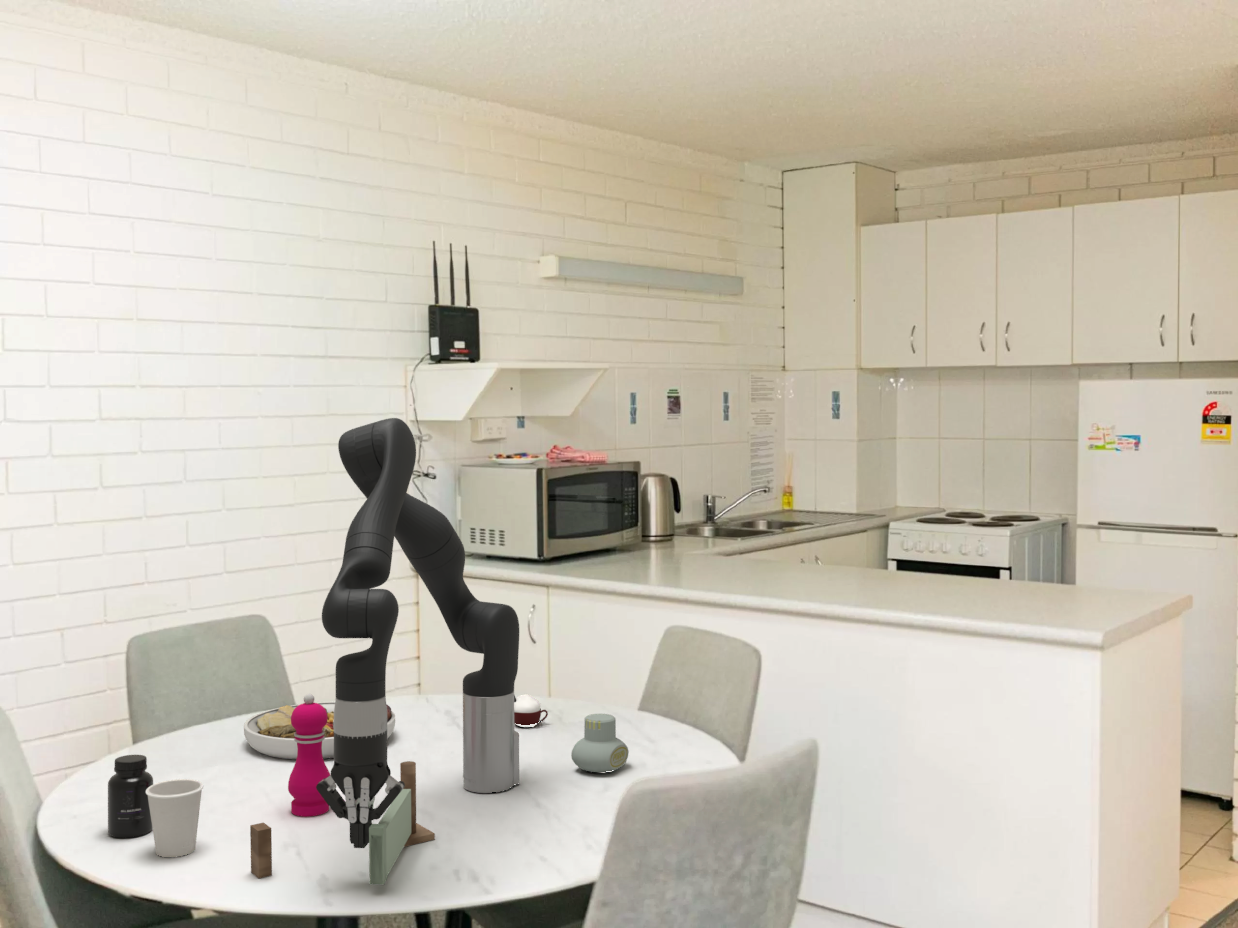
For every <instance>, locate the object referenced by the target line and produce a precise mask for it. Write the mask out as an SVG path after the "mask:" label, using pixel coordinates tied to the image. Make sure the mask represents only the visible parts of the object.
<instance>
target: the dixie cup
mask: <svg viewBox="0 0 1238 928" xmlns="http://www.w3.org/2000/svg"><path fill="white" fill-rule="evenodd" d="M203 789H204V783H202V782H201V781H200V780H197V779H192V778H191V779H190V778H189V779H187V778H181V779H180V778H179V779H177V778H176V779H169V780H164V781H159V782H156V783H153V785H151V786H150V787H148V788H147V789H146V794H147V795H148V801H149V808H150V815H151V821H152V832H153V833H152V834H153V840H154V846H155V847H154V848H155V853H156V855H157V856H158V855H159V856H158V857H160V856H162V857H161V858H164V857H175V858H177V857H176V856H181V857H183V856H182V855H185V856H187V854H188V855H190V854H192V853H193V851H194V850H196V846H197V845H196V844H197V835H198V826H199V818H200V817H199V816H200V810H201V809H200V808H201V801H202V790H203ZM194 852H195V851H194Z"/></svg>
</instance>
